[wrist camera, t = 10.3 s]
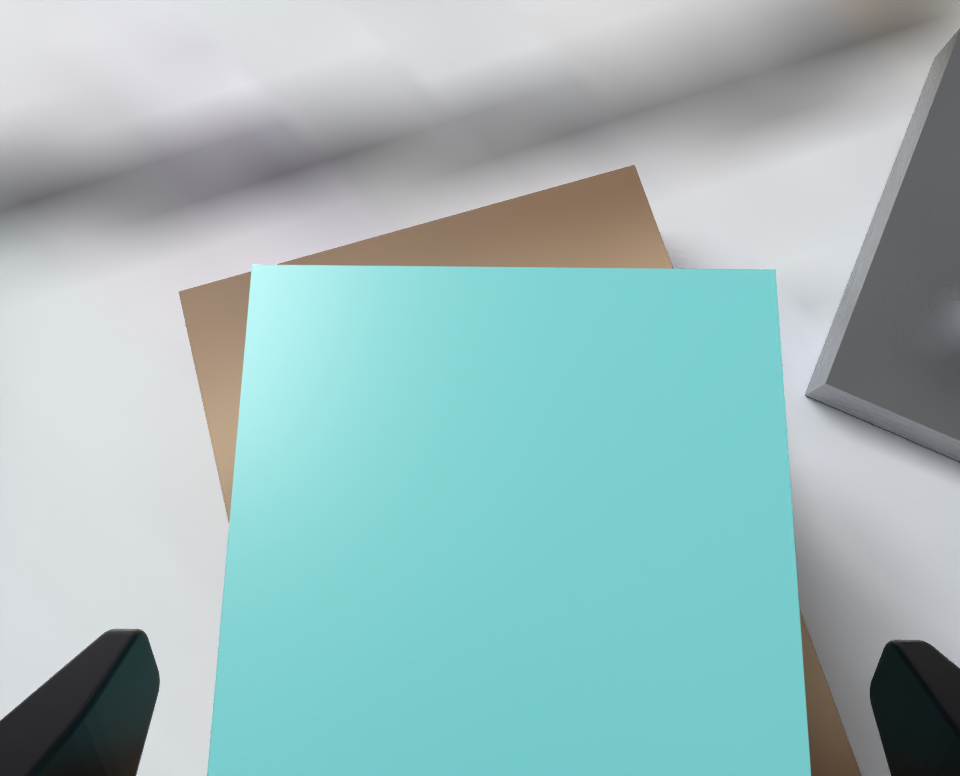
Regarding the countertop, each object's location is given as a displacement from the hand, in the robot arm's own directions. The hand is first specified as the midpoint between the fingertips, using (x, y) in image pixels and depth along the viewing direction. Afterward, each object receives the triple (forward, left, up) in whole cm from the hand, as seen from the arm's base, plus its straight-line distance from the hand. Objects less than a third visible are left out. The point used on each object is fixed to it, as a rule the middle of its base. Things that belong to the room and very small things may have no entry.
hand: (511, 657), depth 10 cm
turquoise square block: (+1, 0, -5) cm, 6 cm away
